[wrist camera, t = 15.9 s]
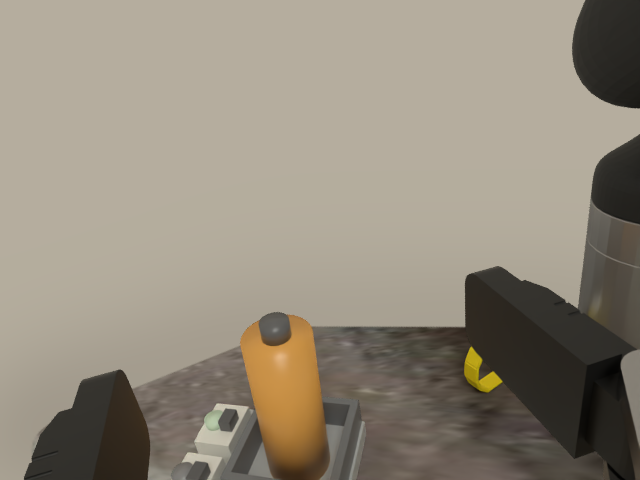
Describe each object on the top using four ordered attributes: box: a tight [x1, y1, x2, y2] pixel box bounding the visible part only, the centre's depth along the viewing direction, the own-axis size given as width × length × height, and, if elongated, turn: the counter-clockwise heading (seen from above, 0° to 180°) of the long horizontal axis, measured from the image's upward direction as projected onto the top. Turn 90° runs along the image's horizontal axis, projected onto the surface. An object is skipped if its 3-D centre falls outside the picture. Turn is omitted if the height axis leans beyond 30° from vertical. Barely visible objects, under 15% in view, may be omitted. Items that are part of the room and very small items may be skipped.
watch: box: [464, 346, 503, 393], centre depth 41 cm, size 6×3×6 cm, turn 122°
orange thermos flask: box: [240, 312, 330, 480], centre depth 33 cm, size 5×5×13 cm
